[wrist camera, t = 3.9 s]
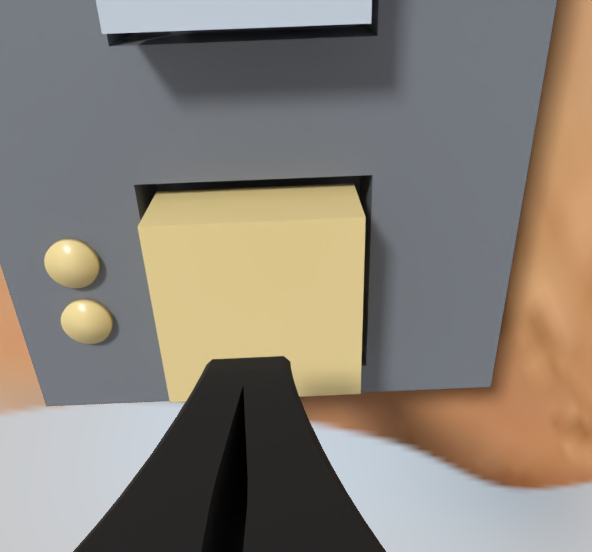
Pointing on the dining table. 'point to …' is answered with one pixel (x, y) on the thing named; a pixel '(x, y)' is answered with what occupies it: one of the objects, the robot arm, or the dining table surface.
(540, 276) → the dining table surface
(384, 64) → the grey flat block
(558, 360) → the dining table surface
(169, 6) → the key grey
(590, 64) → the dining table surface
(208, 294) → the key ochre
